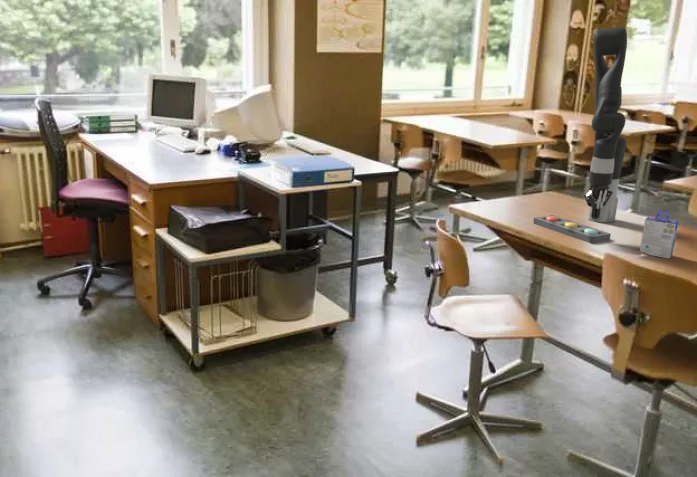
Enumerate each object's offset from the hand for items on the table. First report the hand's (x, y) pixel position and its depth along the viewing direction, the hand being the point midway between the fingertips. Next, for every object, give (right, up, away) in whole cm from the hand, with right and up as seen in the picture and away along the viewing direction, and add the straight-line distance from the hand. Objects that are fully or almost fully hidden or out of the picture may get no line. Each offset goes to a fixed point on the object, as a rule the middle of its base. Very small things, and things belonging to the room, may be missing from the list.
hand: (595, 218), depth 243 cm
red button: (-10, -2, +17) cm, 20 cm away
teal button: (-1, -7, +2) cm, 7 cm away
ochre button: (-6, -4, +9) cm, 12 cm away
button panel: (-6, -5, +10) cm, 12 cm away
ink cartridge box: (+17, -13, -11) cm, 24 cm away
